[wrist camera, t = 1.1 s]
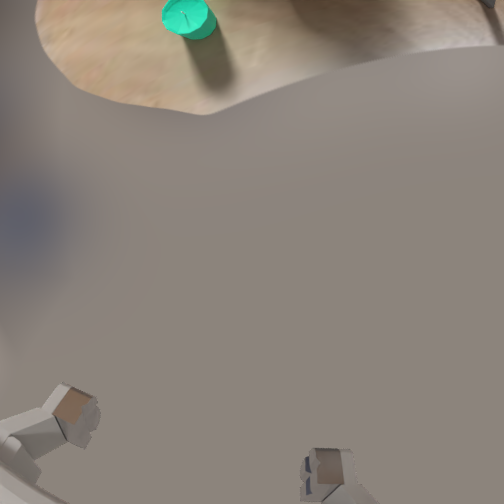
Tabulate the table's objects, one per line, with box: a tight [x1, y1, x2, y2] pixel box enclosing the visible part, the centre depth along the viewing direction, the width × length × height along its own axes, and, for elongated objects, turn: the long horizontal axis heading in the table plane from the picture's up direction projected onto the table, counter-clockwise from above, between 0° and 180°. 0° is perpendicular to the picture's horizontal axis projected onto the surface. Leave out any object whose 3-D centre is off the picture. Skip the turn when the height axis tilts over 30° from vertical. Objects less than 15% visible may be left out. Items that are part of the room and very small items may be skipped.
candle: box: [162, 0, 216, 40], centre depth 31 cm, size 6×6×12 cm
